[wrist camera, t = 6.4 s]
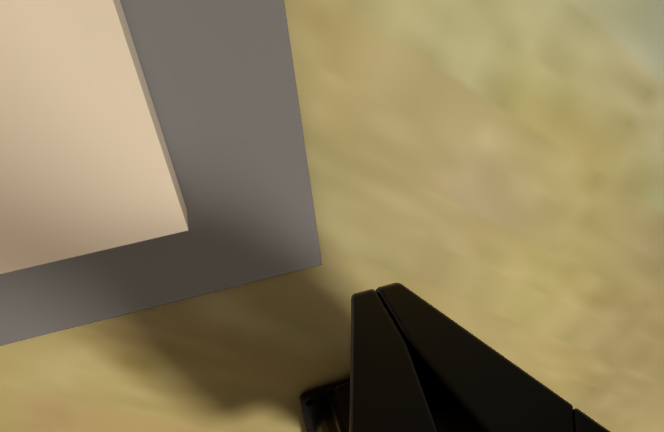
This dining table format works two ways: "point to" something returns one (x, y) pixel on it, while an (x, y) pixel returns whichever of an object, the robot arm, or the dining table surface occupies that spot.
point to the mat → (196, 172)
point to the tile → (77, 136)
